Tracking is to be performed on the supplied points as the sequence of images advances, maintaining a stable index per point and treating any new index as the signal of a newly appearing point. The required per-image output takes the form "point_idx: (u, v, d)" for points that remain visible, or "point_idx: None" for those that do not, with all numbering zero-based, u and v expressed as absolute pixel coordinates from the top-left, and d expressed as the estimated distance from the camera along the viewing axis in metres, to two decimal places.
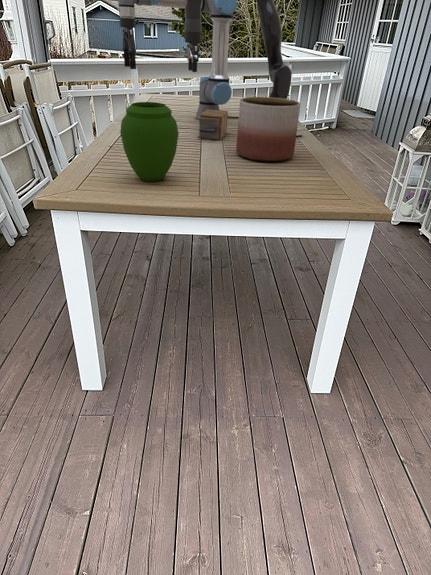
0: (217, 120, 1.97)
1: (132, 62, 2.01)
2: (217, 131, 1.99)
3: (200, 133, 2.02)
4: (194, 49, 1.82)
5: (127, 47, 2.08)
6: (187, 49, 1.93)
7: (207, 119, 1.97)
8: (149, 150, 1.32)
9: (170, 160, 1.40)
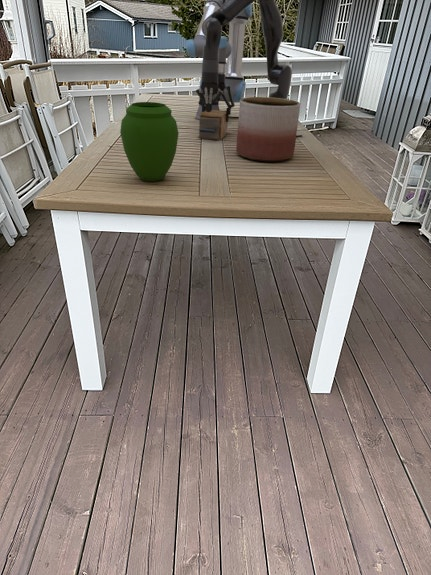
0: (217, 120, 1.97)
1: (227, 115, 2.10)
2: (217, 131, 1.99)
3: (200, 133, 2.02)
4: None
5: None
6: None
7: (207, 119, 1.97)
8: (149, 150, 1.32)
9: (170, 160, 1.40)
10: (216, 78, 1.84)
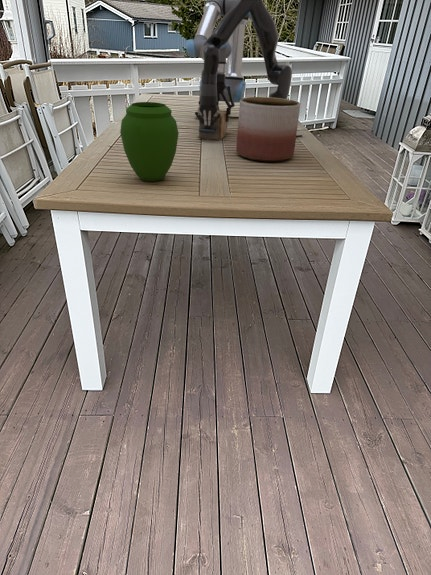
0: (217, 120, 1.96)
1: (227, 115, 2.10)
2: (217, 131, 1.99)
3: (200, 133, 2.01)
4: None
5: None
6: None
7: None
8: (149, 150, 1.32)
9: (170, 160, 1.40)
10: (214, 101, 1.88)
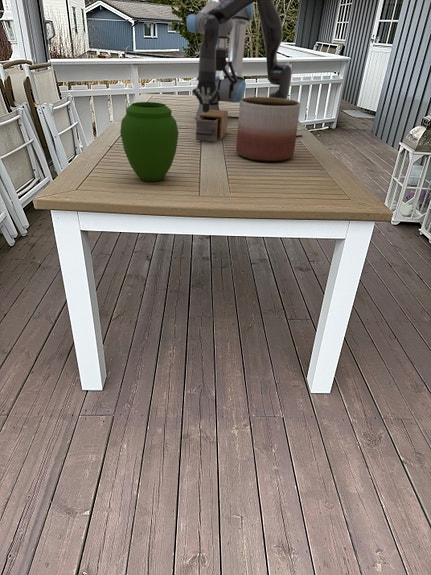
0: (214, 122, 1.91)
1: (231, 92, 2.04)
2: (214, 134, 1.94)
3: (197, 136, 1.96)
4: None
5: None
6: None
7: (204, 121, 1.92)
8: (149, 150, 1.32)
9: (170, 160, 1.40)
10: (213, 77, 1.78)
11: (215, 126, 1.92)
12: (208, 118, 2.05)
